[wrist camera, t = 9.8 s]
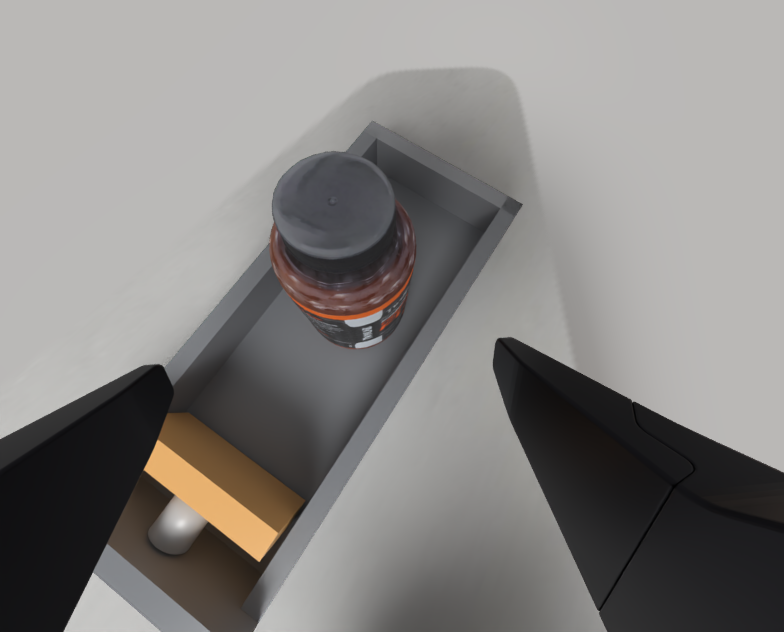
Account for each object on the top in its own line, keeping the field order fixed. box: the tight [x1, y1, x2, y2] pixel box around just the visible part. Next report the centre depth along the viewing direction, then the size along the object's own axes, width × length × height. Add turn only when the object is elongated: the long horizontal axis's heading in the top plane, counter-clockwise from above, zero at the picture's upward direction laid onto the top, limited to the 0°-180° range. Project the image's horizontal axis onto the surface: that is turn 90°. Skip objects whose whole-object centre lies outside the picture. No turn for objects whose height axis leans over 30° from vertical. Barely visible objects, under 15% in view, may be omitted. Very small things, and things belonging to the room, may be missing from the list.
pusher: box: [144, 412, 306, 562], centre depth 16 cm, size 4×8×5 cm, turn 57°
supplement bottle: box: [269, 151, 417, 349], centre depth 16 cm, size 6×6×11 cm
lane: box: [93, 121, 523, 632], centre depth 19 cm, size 26×11×6 cm, turn 147°
